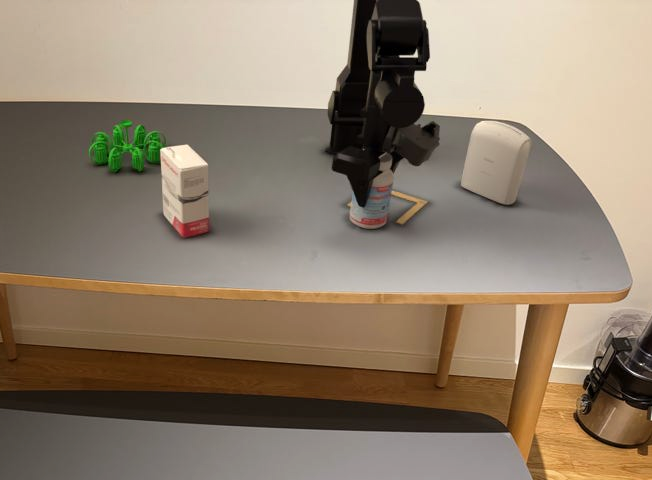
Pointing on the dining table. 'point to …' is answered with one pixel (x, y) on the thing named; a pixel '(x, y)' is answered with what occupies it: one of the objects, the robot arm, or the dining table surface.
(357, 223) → the pill bottle
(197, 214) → the ink box
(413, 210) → the tape outline
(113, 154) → the chandelier
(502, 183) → the photo printer
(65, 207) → the dining table surface
